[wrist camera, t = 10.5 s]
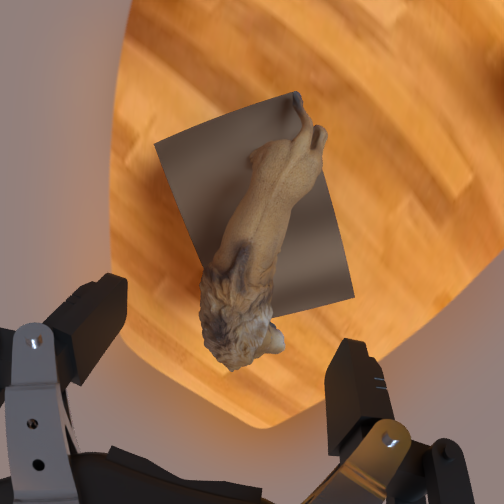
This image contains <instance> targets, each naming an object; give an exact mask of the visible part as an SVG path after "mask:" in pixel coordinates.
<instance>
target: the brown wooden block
mask: <svg viewBox="0 0 504 504" xmlns="http://www.w3.org/2000/svg"><path fill="white" fill-rule="evenodd" d="M292 95H293V92H291V93H288V94H285V95H281V96H278V97H275V98H272V99H268V100H265V101H262V102H259V103H256V104H253V105H250V106H247V107H244V108H242V109H239V110H236V111H233V112H230V113H228V114H225V115H222V116H220V117H217V118H214V119H212V120H209V121H207V122H204V123H202V124H199V125H197V126H194V127H192V128H189V129H187V130H184V131H182V132H180V133H177V134H175V135H173V136H171V137H168V138H166V139H164V140H161V141H159V142H157V143H155V144H154V146H155V149H156V151H157V154H158V157H159V159H160V162H161V165H162V167H163V170H164V172H165V175H166V178H167V180H168V183H169V185H170V188H171V190H172V193H173V195H174V198H175V200H176V203H177V205H178V208H179V210H180V213H181V215H182V218H183V220H184V223H185V225H186V228H187V230H188V232H189V235H190V237H191V240H192V242H193V244H194V247H195V249H196V252H197V254H198V256H199V259H200V261H201V263H202V266H203V268H204V269H205V268H206V267H207V265H208V264H209V263H210V262H212V261H213V258H214V255H215V253H216V252H217V251H218V250H219V248H220V247H221V242H222V238H223V235H224V232H225V229H226V226H227V224H228V222H229V220H230V218H231V217H232V215H233V214H234V212H235V210H236V208H237V207H238V205H239V203H240V202H241V200H242V199H243V197H244V196H245V194H246V193H247V191H248V189H249V186H250V182H251V177H252V172H253V170H252V165H253V164H251V162H250V154H251V153H252V152H253V151H254V150H255V149H257V148H259V147H261V146H263V145H264V144H265V143H267V142H269V141H275V140H280V139H288V140H291V141H292V140H293V139H294V138H296V136H297V135H298V134H299V132H300V130H301V128H302V123H301V120H300V118H299V116H298V115H297V113H296V111H295V109H294V108H293V105H292V103H293V96H292ZM310 148H311V146H310ZM273 283H274V290H273V295H272V299H271V302H270V304H271V306H272V310H273V315H272V318H275V317H279V316H283V315H287V314H292V313H296V312H300V311H304V310H308V309H312V308H316V307H320V306H324V305H328V304H332V303H336V302H340V301H343V300H347V299H351V298H355V296H354V291H353V286H352V282H351V277H350V273H349V269H348V264H347V260H346V256H345V252H344V247H343V243H342V239H341V235H340V231H339V228H338V224H337V220H336V216H335V212H334V209H333V205H332V202H331V198H330V194H329V191H328V187H327V184H326V180H325V177H324V174H323V170H322V171H321V173H320V174H319V175H318V177H317V179H316V181H315V184H314V186H313V187H312V189H311V190H310V191H309V192H308V193H307V194H306V195H305V196H304V197H303V198H301V199H300V200H299V201H298V202H297V203H296V204H295V205H294V206H293V208H292V209H291V214H290V219H289V223H288V227H287V231H286V234H285V238H284V241H283V244H282V246H281V252H280V253H278V254H277V263H276V272H275V274H274V276H273Z"/></svg>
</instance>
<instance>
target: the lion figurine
mask: <svg viewBox="0 0 504 504" xmlns="http://www.w3.org/2000/svg"><path fill="white" fill-rule="evenodd" d="M292 96H293V103H292V105H293V108H294V109H295V111H296V113H297V115H298V116H299V118H300V120H301V123H302V128H301V130H300V132H299V134H298V135H297V136H296V138H294V139H293V140H292V141H291V140H288V139H280V140H275V141H269V142H267V143H265V144H264V145H263V146H261V147H259V148H257V149H255V150H254V151H253V152H252V153H251V154H250V162H251V164H253V165H252V170H253V172H252V177H251V182H250V186H249V189H248V191H247V193H246V194H245V196H244V197H243V199H242V200H241V202H240V203H239V205H238V207H237V208H236V210H235V212H234V214H233V215H232V217H231V218H230V220H229V222H228V224H227V226H226V229H225V232H224V235H223V238H222V242H221V247H220V248H219V250H218V251H217V252H216V253H215V255H214V258H213V261H212V262H210V263H209V264H208V265H207V267H206V268H205V269H204V271H203V275H202V278H201V282H200V284H199V287H200V290H201V301H200V307H201V309H200V312H199V319H200V321H201V326H202V329H203V330H202V335H203V338H204V346H205V347H206V348H208V349H209V351H210V352H211V353H212V354H213V356H214V357H215V358H216V359H217V361H218V362H220V363H223V364H224V365H225V366H226V367H227V368H228V369H229V370H230V371H231V372H233V371H234V370H238V369H240V368H241V367H244V366H247V365H250V364H251V363H252V362H253V360H254V359H256V358H259V357H261V356H262V355H263V354H264V353H267V354H268V353H272V354H279V353H281V352H282V351H284V349H285V343H284V336H283V334H282V332H281V331H280V330H278V329H276V326H275V325H274V324H273V323H271V322H270V320H271V318H272V315H273V310H272V306H271V304H270V302H271V299H272V295H273V290H274V283H273V276H274V274H275V272H276V263H277V254H278V253H280V252H281V246H282V244H283V241H284V238H285V234H286V231H287V227H288V223H289V219H290V214H291V209H292V208H293V206H294V205H295V204H296V203H297V202H298V201H299V200H300V199H301V198H303V197H304V196H305V195H306V194H307V193H308V192H309V191H310V190H311V189H312V187H313V186H314V184H315V181H316V179H317V177H318V175H319V174H320V173H321V171H322V167H323V161H322V154H323V149H324V145H325V142H326V140H327V138H328V134H327V131H326V130H325V128H323V127H322V126H320V125H315V126H314V127H313V123H312V120H311V118H310V117H309V116H308V114H307V113H306V111H305V110H304V108H303V101H302V98H301V95H300V93H299V92H297V91H294V92H293V95H292ZM310 146H311V148H310Z"/></svg>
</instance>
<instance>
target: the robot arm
mask: <svg viewBox="0 0 504 504" xmlns="http://www.w3.org/2000/svg"><path fill="white" fill-rule="evenodd" d="M127 289H128V282H127V279H126V278H123V277H120V276H117V275H114V274H111V273H106V274H105V275H104V276H103V277H102V278H101V279H100V280H99V281H98V282H93V281H92V282H89V283H87V284H85V285H82V286H80V287H79V288H78V289H77V290H76V291H75V292H74V293H73V294H72V296H70V297H69V298H67V299H66V302H63V303H62V304H61V305H60V306H59V307H58V308H57V309H56V310H55V311H54V312H53V313H52V314H51V315H50V316H49V317H48V318H47V319H46V320H45V321H44V322H43V323H28V324H25V325H23V326H21V327H20V328H19V329H17V330H16V331H14V330H9V329H4V328H0V407H1V406H2V404H3V403H4V401H5V419H6V420H5V421H6V437H7V447H8V458H9V466H10V473H11V476H10V477H6V478H3V479H0V504H275V503H273V502H271V501H269V500H267V499H264V498H262V497H261V495H262V488H256V487H251V486H245V485H240V484H236V483H230V482H226V481H197V480H184V479H181V478H179V477H177V476H175V475H173V474H171V473H170V472H168V471H166V470H164V469H163V468H161V467H159V466H157V465H156V464H154V463H153V462H151V461H149V460H148V459H146V458H143V457H140V456H137V455H135V454H132V453H129V452H127V451H124V450H122V449H119V448H117V447H115V446H111V448H110V450H109V452H108V453H100V452H85V453H81V452H80V448H79V445H78V442H77V439H76V436H75V431H74V427H73V421H72V416H71V411H70V407H69V400H68V394H67V389H66V388H67V386H68V385H69V383H70V382H73V383H75V384H77V385H79V386H82V384H83V383H84V381H85V380H86V379H87V377H88V376H89V374H90V373H91V371H92V370H93V368H94V367H95V365H96V364H97V363H98V361H99V360H100V358H101V357H102V355H103V354H104V353H105V351H106V350H107V348H108V347H109V346H110V344H111V343H112V341H113V340H114V339H115V337H116V336H117V334H118V333H119V332H120V330H121V329H122V327H123V326H124V323H125V320H126V316H127ZM324 385H325V400H326V416H327V434H328V455H329V456H340V463H339V464H338V465H337V466H336V468H334V470H333V471H332V472H331V473H330V474H329V475H328V476H327V477H326V479H325V480H324V481H323V482H322V483H321V484H320V485H319V486H318V487H317V488H316V489H315V490H314V491H313V492H312V493H311V494H310V495H309V496H308V497H307V498H306V499H305V500H304V501H303V502H302V503H301V504H382V503H383V502H384V500H385V499H386V504H426V497H425V495H426V494H428V502H429V504H475V502H474V497H473V492H472V488H471V483H470V479H469V475H468V471H467V466H466V462H465V459H464V455H463V452H462V450H461V448H460V447H459V445H458V444H457V443H455V442H454V441H452V440H450V439H447V438H441V439H438V440H437V441H436V442H435V443H433V445H431V446H429V445H425V444H423V443H419V442H417V441H414V440H411V436H410V433H409V431H408V430H407V429H406V427H405V426H404V425H402V424H401V423H399V422H397V421H395V418H394V414H393V410H392V406H391V403H390V398H389V394H388V391H387V390H386V388H387V387H386V383H385V381H384V375H383V372H382V368H381V367H380V365H379V364H378V363H377V361H376V360H375V358H374V357H369V355H368V351H367V348H366V344H365V342H362V341H358V340H353V339H348V338H344V339H343V340H342V342H341V344H340V345H339V347H338V349H337V351H336V353H335V355H334V357H333V359H332V361H331V363H330V365H329V366H328V368H327V371H326V375H325V380H324Z"/></svg>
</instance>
